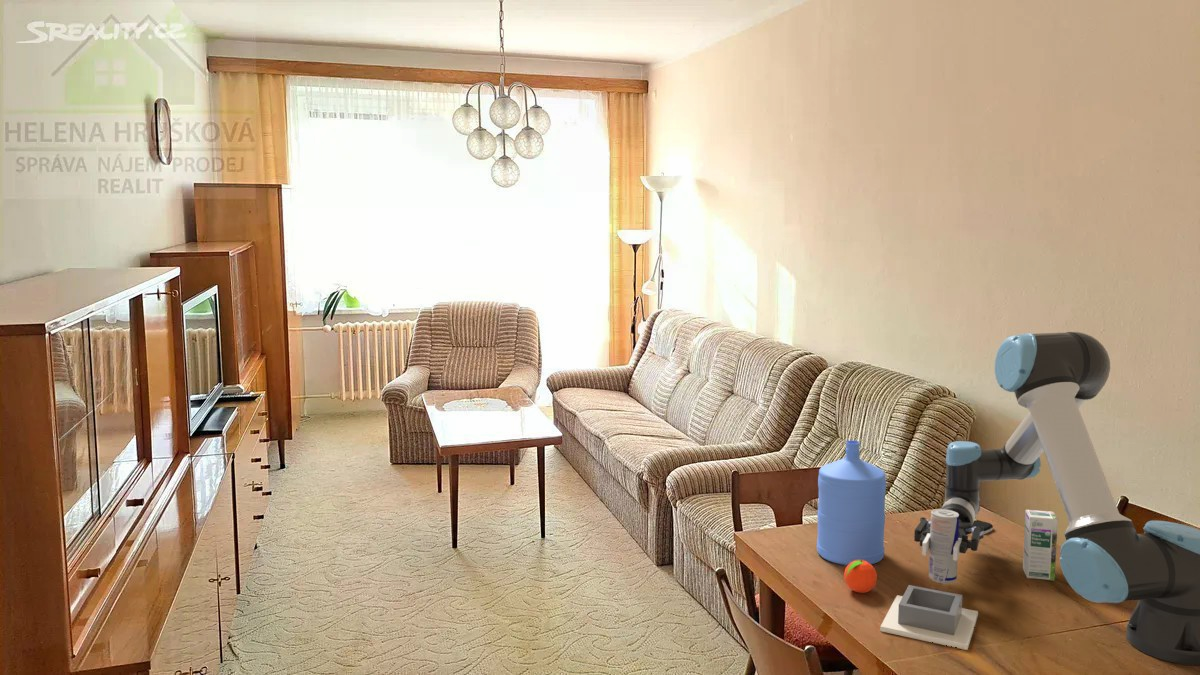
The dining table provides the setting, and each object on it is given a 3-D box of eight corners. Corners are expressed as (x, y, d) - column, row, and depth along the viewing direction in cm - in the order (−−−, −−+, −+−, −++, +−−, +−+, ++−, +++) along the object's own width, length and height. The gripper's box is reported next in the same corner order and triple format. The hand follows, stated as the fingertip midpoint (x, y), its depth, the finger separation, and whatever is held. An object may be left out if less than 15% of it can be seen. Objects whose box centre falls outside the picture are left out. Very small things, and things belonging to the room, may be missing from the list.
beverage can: (959, 585, 182) (961, 517, 180) (930, 583, 183) (933, 516, 181) (953, 575, 188) (956, 508, 186) (926, 573, 189) (929, 507, 187)
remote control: (983, 536, 220) (983, 529, 220) (936, 523, 230) (936, 516, 229) (994, 530, 224) (995, 523, 224) (948, 518, 234) (948, 511, 233)
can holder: (978, 615, 176) (979, 592, 175) (967, 650, 162) (968, 625, 161) (896, 599, 184) (897, 577, 183) (880, 631, 170) (881, 607, 169)
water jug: (874, 572, 198) (878, 454, 194) (807, 559, 206) (810, 445, 202) (890, 549, 211) (894, 438, 207) (827, 538, 219) (829, 431, 215)
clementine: (858, 602, 183) (859, 570, 182) (833, 590, 189) (834, 560, 188) (883, 593, 187) (884, 561, 186) (858, 582, 193) (858, 551, 192)
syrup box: (1026, 578, 193) (1030, 516, 191) (1022, 568, 199) (1025, 508, 197) (1054, 581, 192) (1058, 518, 190) (1049, 571, 197) (1053, 510, 195)
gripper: (998, 540, 196) (986, 577, 176) (913, 528, 205) (893, 561, 185) (999, 508, 195) (988, 541, 175) (914, 497, 204) (894, 527, 184)
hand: (939, 551), depth 180 cm, fingers closed on beverage can, 5 cm apart
